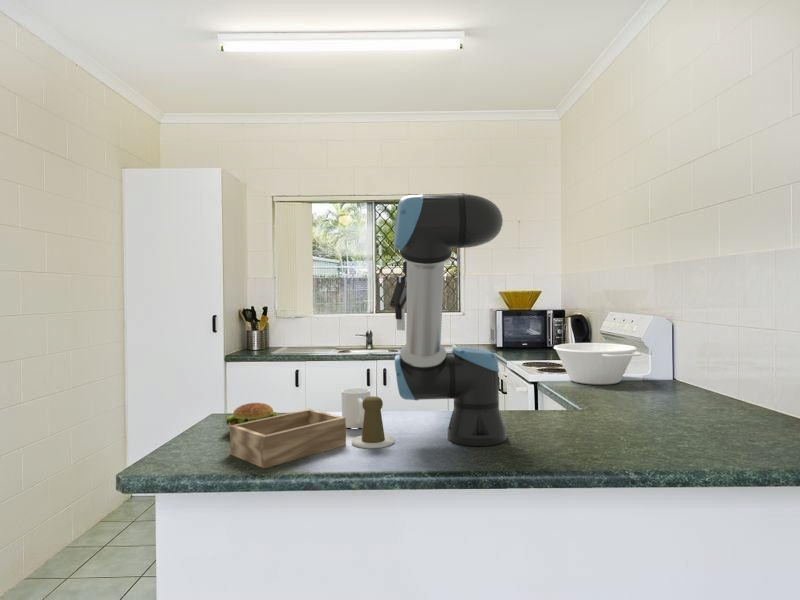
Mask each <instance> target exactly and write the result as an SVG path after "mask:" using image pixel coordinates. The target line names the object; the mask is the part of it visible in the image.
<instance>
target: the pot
mask: <svg viewBox="0 0 800 600" xmlns="http://www.w3.org/2000/svg"><path fill="white" fill-rule="evenodd" d="M553 349H554V350H555V351H556V353H557V354H558V357H559V360H560V361H561V363H562V365H563V367H564V369H565V371H566V374H567V375H568V378H569V380H571V381H572V382H573V383H577V384H581V385H589V386H590V385H591V386H609V385H614V384H619V383H620V382H621V381H622V378H623V377H624V375H625V372H626V370H627V368H628V366H629V364H630V362H631V361H632V358H633V357H638V356H640V357H641V356H642V353H641V352H636V351H638V348H637V347H636V346H635V345H634V346H633V345H630V344H629V345H628V344H623V343H622V344H621V343H607V342H574V343H573V342H571V343H561V344H557V345H554V346H553Z"/></svg>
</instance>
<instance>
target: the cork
mask: <svg viewBox="0 0 800 600" xmlns="http://www.w3.org/2000/svg"><path fill="white" fill-rule="evenodd" d="M383 405H384V403H383V400H382V398H381V397H379V396H370V397H366V398H365V399H364V400H363V403H362V406H363V408H364V410H365V412H364V422H363V429H362V431H361V435H362V441H363V442H365V443H379V442H383V441H384V440H385V436H384V435H385V429H384V425H383V424H384V423H383V417H382V411H381V409H383Z"/></svg>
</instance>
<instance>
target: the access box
mask: <svg viewBox="0 0 800 600" xmlns="http://www.w3.org/2000/svg"><path fill="white" fill-rule="evenodd" d="M346 432H347V431H346V422H345V417H342V415H341V416H340V415H336V414H331V413H328V412H323V411H320V410H317V409H316V410H315V409H311V408H308V409H303V410H297V411H294V412H292V411H291V412H288V413H283V414H278V416H273V417H269V418H264V419H259V420H255V421H250V422H245V423H240V424H236V425H229V446H230V447H229V449H230V451H229V453H230V454H229V455H231V456H233V457H236V458H239V459H240V460H243V461H245V462H248V463H250V464H252V465H256V466H257V467H260V468H262V469H264V468H265V469H267V468H271V467H274V466H278V465H282V464H285V463H289V462H292V461H295V460H299V459H303V458H306V457H310V456H313V455H315V454H320V453H324V452H326V451H329V450H333V449H337V448H338V449H339V448H341V447H344V446H347V433H346Z"/></svg>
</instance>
